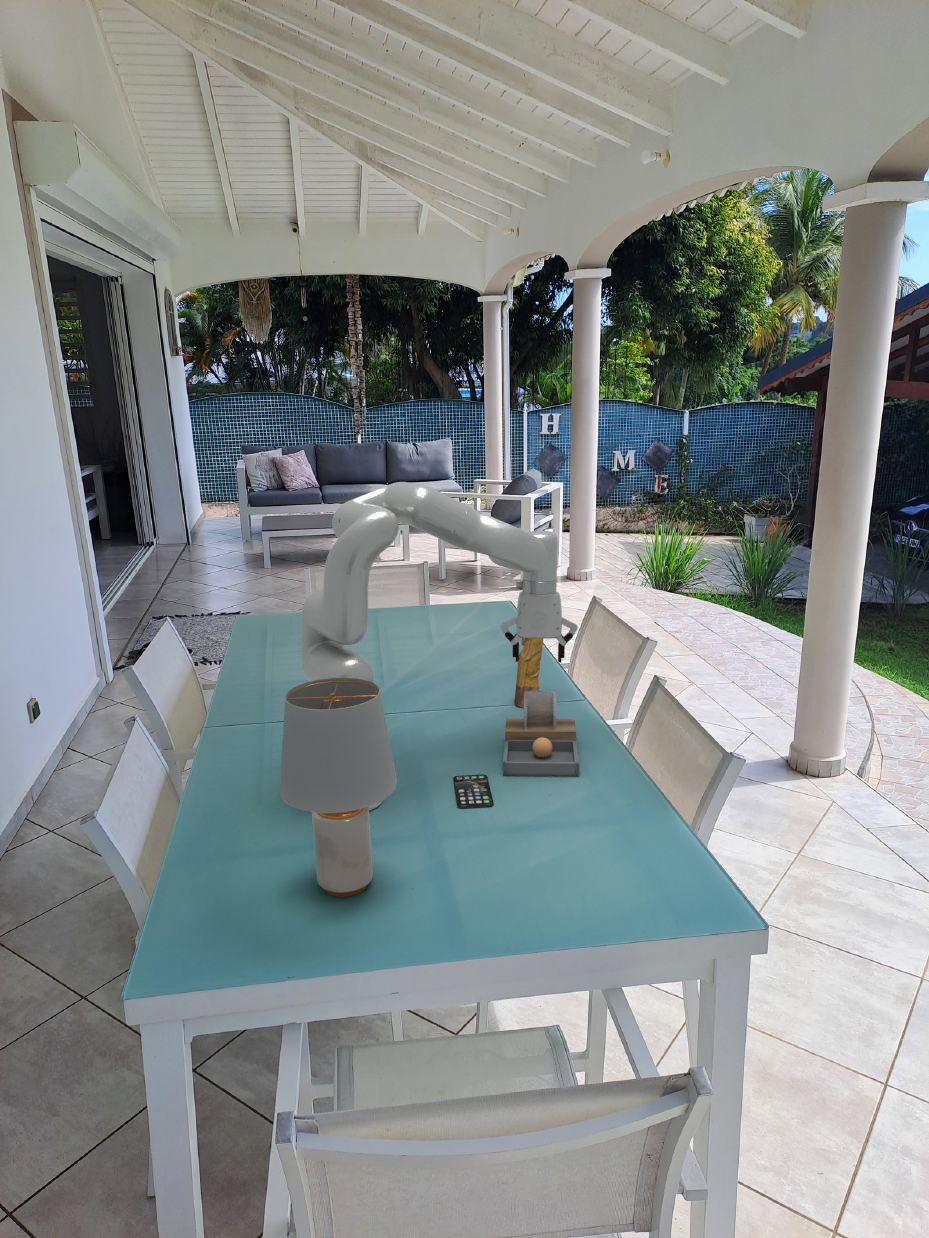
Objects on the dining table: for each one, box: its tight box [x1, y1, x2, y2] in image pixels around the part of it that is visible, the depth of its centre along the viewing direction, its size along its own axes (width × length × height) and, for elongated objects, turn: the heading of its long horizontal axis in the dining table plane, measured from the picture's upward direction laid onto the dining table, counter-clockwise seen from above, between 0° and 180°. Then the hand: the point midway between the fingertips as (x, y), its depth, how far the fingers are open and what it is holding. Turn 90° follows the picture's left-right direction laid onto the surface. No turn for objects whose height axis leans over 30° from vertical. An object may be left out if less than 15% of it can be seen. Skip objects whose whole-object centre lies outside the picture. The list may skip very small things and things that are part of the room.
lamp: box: [279, 678, 398, 898], centre depth 141 cm, size 19×19×34 cm
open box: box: [523, 690, 557, 730], centre depth 198 cm, size 7×7×7 cm
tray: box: [502, 739, 580, 778], centre depth 190 cm, size 13×16×3 cm
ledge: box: [504, 717, 577, 741], centre depth 199 cm, size 8×16×5 cm, turn 85°
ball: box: [533, 737, 552, 758], centre depth 192 cm, size 4×4×4 cm
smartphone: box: [452, 773, 495, 810], centre depth 178 cm, size 7×1×15 cm
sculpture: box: [513, 638, 544, 709], centre depth 222 cm, size 7×9×30 cm
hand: (538, 660), depth 197 cm, fingers open, 9 cm apart
